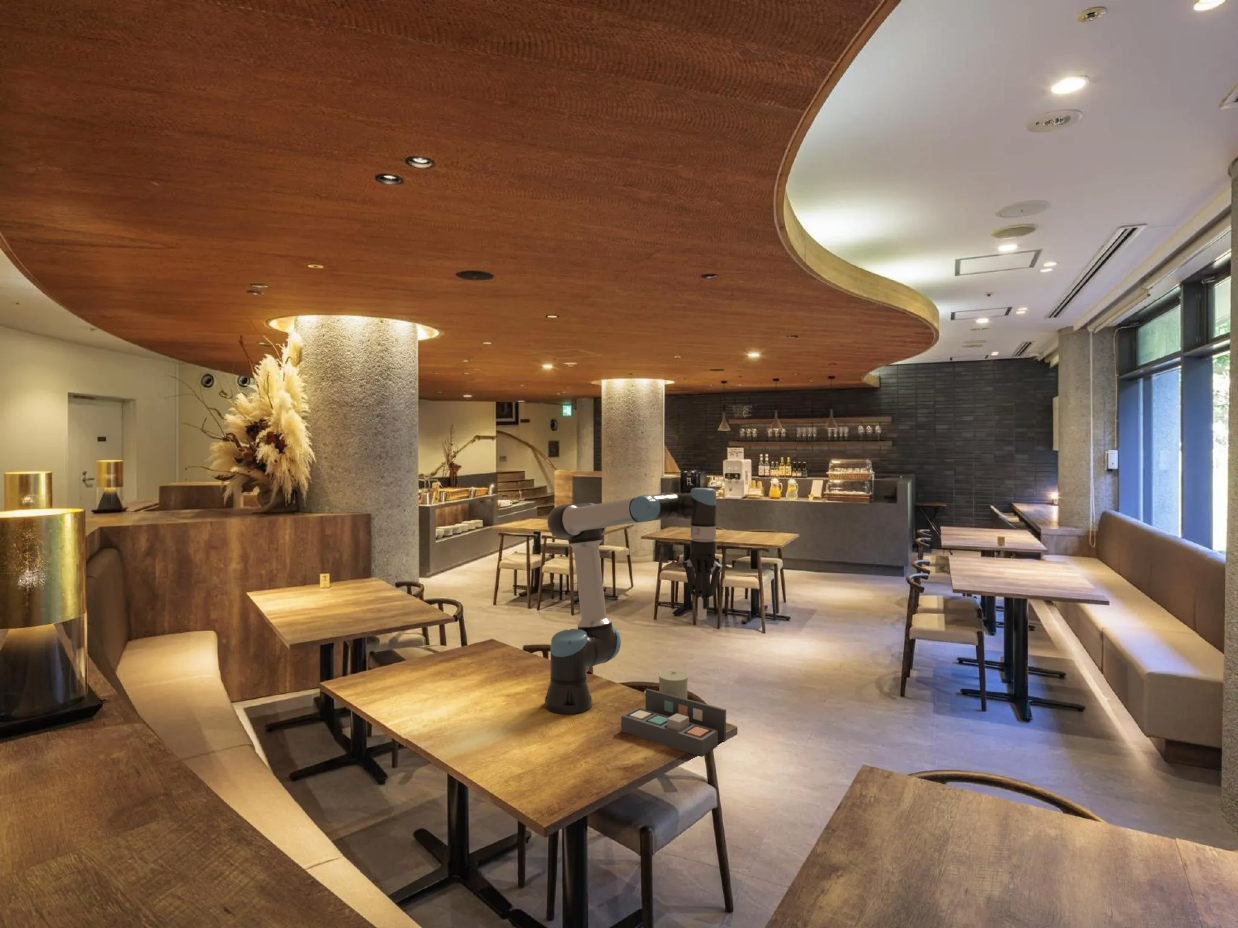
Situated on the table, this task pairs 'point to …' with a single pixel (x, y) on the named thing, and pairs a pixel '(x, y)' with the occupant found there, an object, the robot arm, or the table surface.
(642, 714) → the key
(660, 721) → the key
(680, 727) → the grey block
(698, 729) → the key
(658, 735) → the key frame
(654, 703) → the screen
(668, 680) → the can
